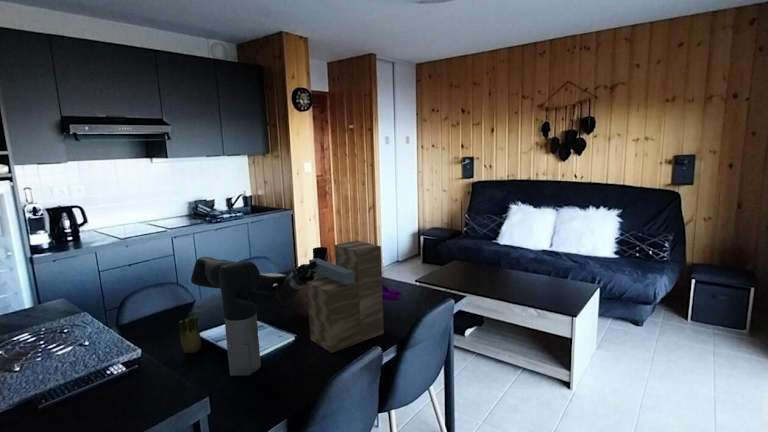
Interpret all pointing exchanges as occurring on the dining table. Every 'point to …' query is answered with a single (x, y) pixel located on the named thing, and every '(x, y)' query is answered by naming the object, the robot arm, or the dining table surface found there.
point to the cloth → (389, 294)
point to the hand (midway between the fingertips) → (320, 262)
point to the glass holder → (320, 257)
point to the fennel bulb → (190, 335)
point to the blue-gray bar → (333, 271)
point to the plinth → (348, 299)
